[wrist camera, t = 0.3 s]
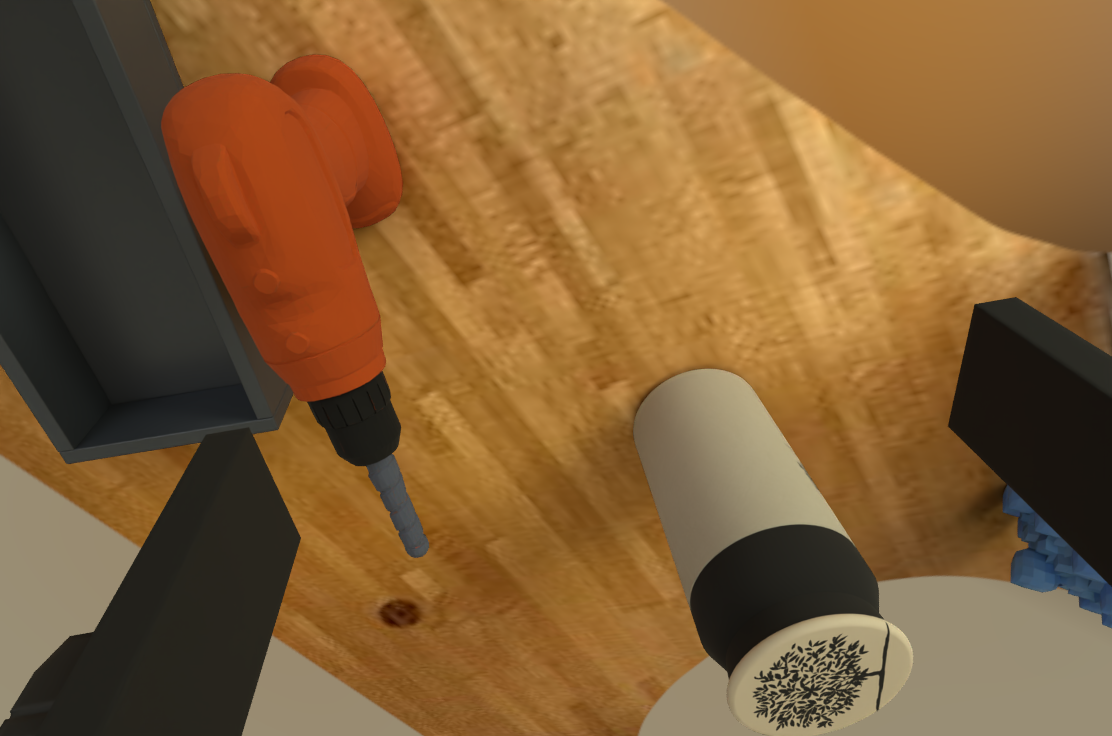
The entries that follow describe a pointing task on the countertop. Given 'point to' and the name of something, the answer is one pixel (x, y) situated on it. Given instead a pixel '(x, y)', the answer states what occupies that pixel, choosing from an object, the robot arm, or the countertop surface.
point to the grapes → (1054, 562)
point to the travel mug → (765, 562)
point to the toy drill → (301, 241)
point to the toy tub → (110, 245)
